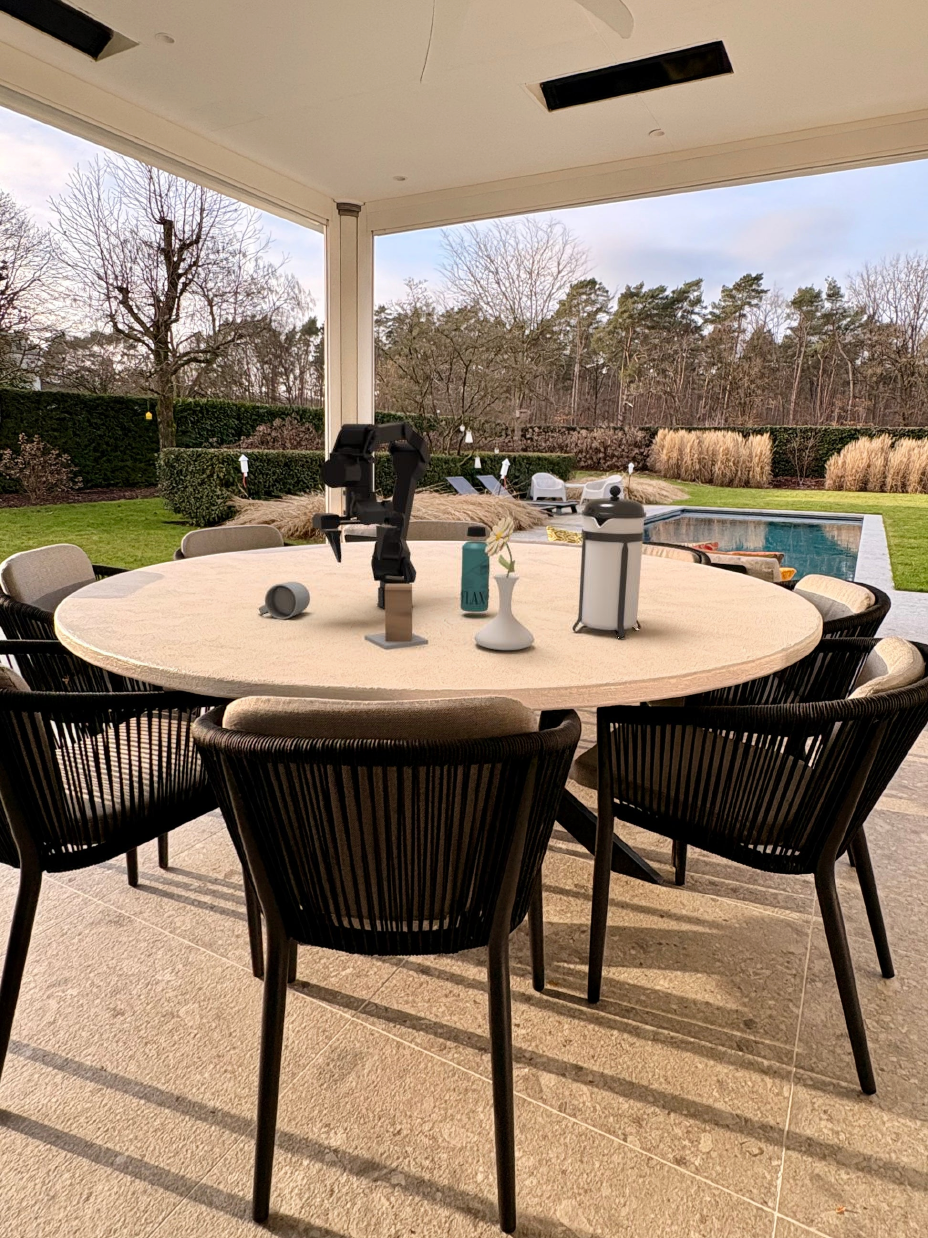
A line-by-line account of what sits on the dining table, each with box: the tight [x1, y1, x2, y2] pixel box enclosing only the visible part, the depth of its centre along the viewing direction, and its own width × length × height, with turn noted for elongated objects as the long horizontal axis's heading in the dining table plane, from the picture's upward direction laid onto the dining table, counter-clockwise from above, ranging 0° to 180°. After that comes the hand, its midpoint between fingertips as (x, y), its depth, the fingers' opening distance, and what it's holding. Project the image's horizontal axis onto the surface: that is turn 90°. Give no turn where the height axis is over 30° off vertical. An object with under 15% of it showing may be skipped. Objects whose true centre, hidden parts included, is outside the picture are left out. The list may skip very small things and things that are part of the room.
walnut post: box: [384, 583, 413, 641], centre depth 148 cm, size 5×5×10 cm
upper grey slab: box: [364, 632, 429, 650], centre depth 150 cm, size 9×9×1 cm
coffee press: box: [572, 485, 647, 640], centre depth 160 cm, size 17×16×30 cm
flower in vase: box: [473, 516, 535, 651], centre depth 144 cm, size 13×11×25 cm
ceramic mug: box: [258, 581, 311, 620], centre depth 171 cm, size 11×8×8 cm
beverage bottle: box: [459, 525, 491, 613], centre depth 172 cm, size 6×7×20 cm
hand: (359, 561), depth 164 cm, fingers open, 9 cm apart
